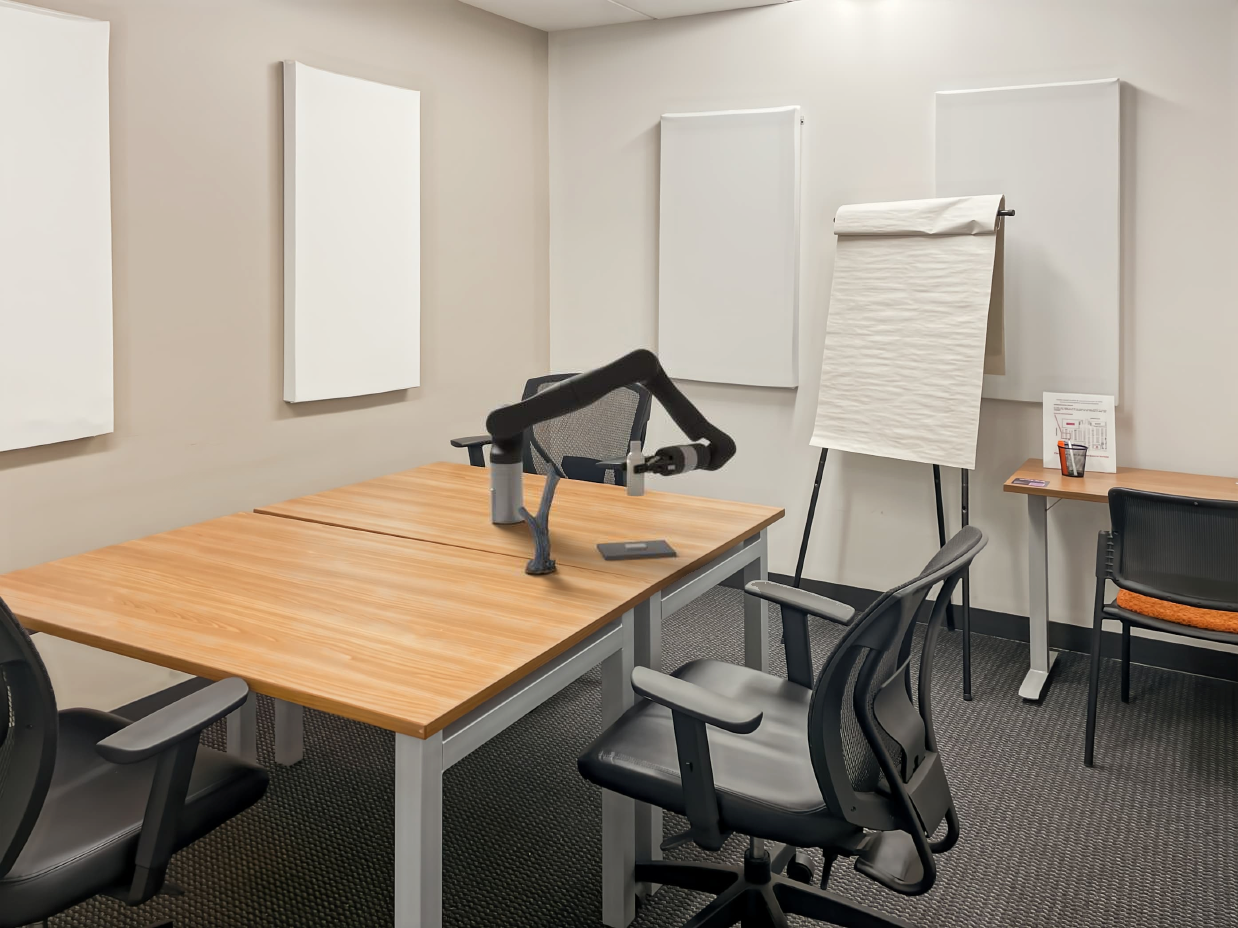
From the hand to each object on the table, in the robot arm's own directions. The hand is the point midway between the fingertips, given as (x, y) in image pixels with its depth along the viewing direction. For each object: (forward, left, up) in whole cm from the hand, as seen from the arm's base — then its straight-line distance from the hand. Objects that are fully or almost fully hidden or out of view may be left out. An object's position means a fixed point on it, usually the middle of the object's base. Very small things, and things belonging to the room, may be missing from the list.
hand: (627, 468), depth 240 cm
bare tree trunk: (-23, -9, -22) cm, 33 cm away
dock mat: (+2, +1, -22) cm, 22 cm away
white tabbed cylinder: (+2, +1, -7) cm, 8 cm away
